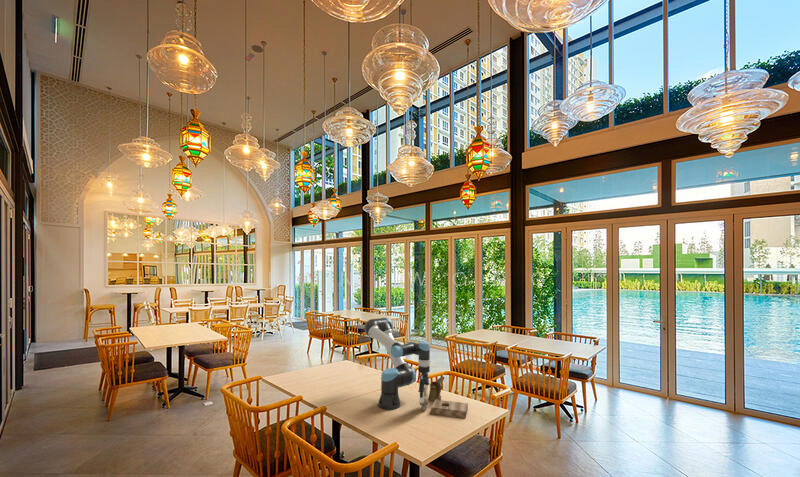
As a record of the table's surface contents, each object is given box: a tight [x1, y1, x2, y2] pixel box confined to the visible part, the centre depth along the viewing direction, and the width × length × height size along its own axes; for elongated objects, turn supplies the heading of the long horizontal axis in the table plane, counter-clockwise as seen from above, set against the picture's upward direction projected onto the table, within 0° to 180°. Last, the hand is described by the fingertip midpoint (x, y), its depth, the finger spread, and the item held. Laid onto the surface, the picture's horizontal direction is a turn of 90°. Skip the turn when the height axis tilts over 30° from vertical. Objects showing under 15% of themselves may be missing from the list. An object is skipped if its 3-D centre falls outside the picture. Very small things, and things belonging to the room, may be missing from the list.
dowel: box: [419, 384, 429, 412], centre depth 236 cm, size 6×6×15 cm
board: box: [430, 399, 469, 419], centre depth 233 cm, size 22×14×4 cm, turn 74°
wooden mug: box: [428, 376, 445, 402], centre depth 254 cm, size 9×14×18 cm, turn 34°
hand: (423, 398), depth 236 cm, fingers open, 13 cm apart
